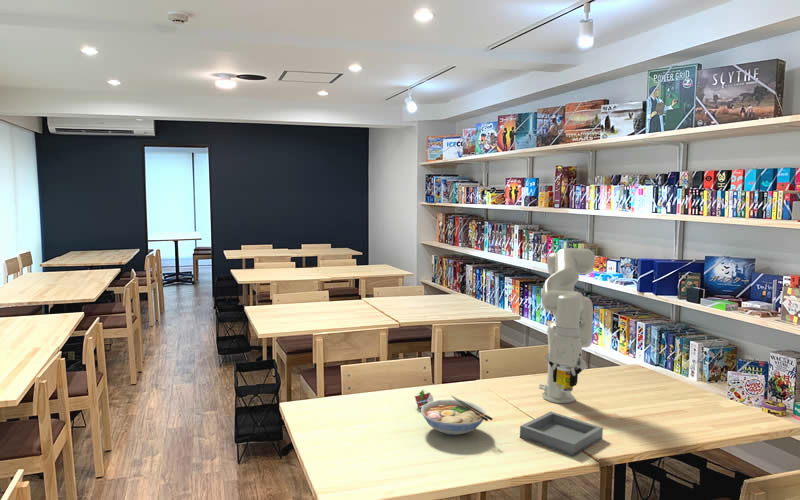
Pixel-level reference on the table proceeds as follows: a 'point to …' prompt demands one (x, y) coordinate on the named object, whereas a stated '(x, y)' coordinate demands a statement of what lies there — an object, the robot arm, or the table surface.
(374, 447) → the table surface
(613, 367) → the table surface
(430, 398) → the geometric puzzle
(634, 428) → the table surface
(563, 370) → the supplement bottle
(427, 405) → the ramen bowl
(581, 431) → the tray
